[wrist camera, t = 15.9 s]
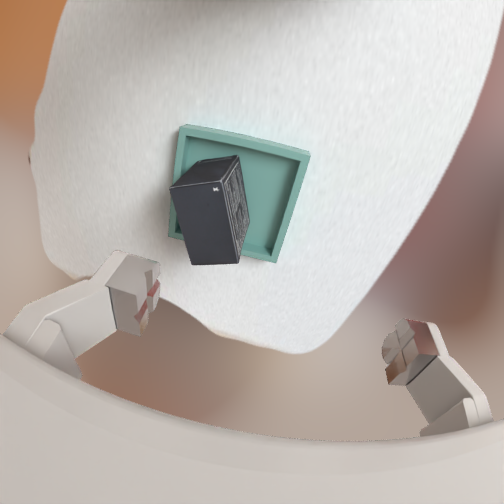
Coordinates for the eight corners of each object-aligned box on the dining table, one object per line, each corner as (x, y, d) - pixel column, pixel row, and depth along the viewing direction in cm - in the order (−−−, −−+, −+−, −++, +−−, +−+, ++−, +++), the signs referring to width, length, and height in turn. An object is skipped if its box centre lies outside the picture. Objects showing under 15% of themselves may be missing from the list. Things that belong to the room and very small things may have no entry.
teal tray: (186, 124, 35) (179, 126, 33) (308, 151, 35) (310, 156, 33) (173, 228, 44) (168, 236, 42) (276, 253, 45) (275, 263, 43)
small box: (193, 160, 37) (165, 186, 28) (239, 153, 36) (223, 178, 27) (209, 226, 43) (189, 267, 34) (251, 223, 42) (241, 264, 33)
